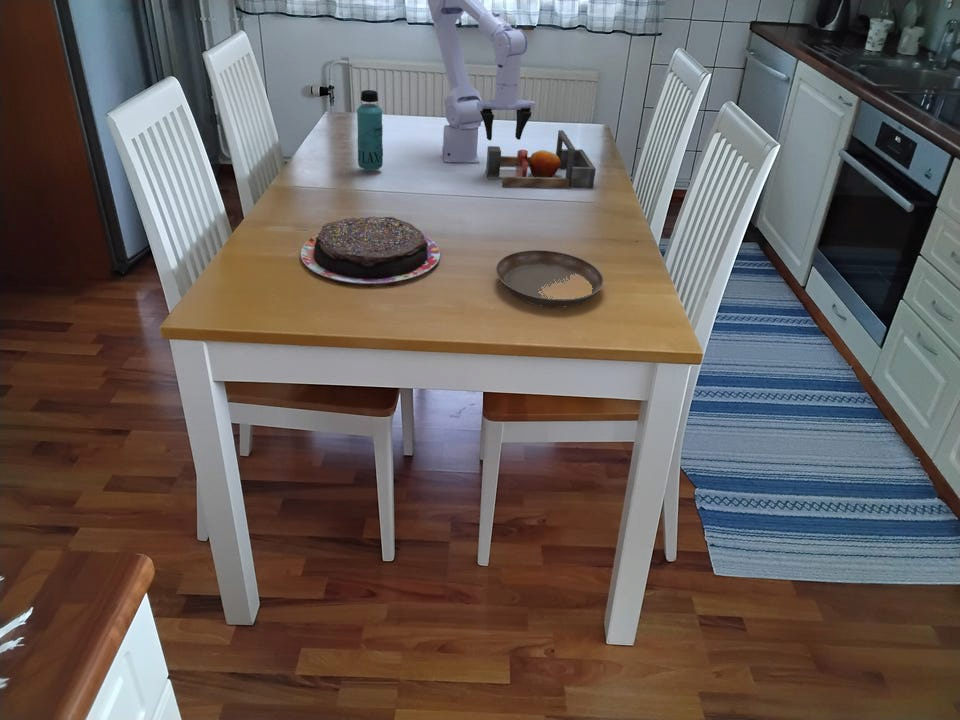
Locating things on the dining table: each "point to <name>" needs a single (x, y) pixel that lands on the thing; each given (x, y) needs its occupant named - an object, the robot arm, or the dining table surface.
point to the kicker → (494, 164)
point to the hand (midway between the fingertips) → (503, 138)
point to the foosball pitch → (571, 159)
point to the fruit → (544, 164)
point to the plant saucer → (544, 275)
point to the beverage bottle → (369, 132)
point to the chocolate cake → (370, 252)
